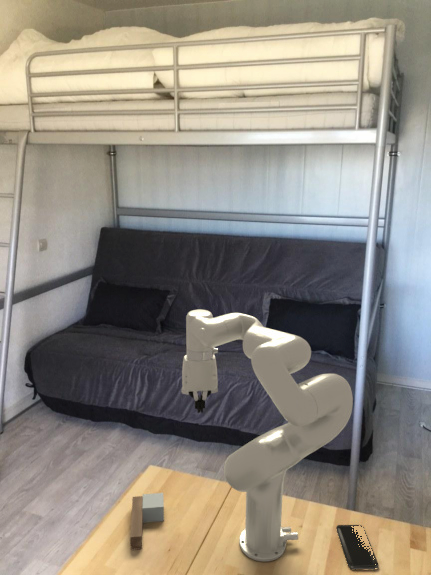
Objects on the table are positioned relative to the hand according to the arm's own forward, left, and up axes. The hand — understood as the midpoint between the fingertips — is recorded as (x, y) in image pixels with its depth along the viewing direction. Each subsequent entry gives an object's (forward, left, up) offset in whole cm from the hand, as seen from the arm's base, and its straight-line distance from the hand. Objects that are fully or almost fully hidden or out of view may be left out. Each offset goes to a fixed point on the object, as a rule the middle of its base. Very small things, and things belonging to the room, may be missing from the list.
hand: (199, 410), depth 147 cm
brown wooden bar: (+19, +12, -29) cm, 37 cm away
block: (+14, +7, -29) cm, 33 cm away
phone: (-40, +26, -30) cm, 56 cm away
